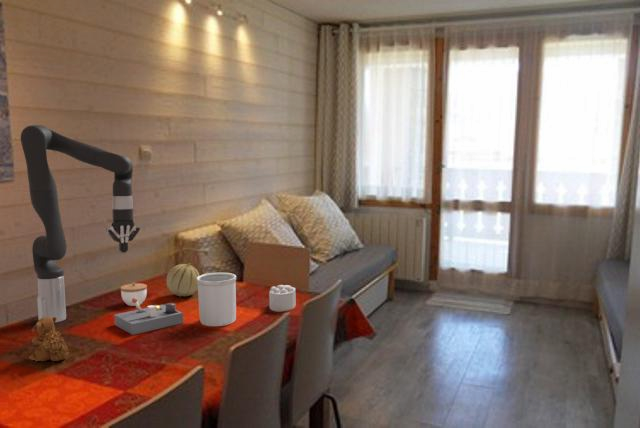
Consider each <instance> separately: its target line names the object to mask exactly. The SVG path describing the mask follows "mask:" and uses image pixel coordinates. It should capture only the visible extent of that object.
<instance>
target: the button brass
mask: <svg viewBox="0 0 640 428" xmlns="http://www.w3.org/2000/svg"><path fill="white" fill-rule="evenodd" d="M159 305H160V304H153V306H155V307H156V311H157V310H160V306H159Z"/></svg>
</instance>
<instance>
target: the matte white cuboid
mask: <svg viewBox="0 0 640 428" xmlns="http://www.w3.org/2000/svg"><path fill="white" fill-rule="evenodd" d="M153 305H154V304H153ZM153 305H147V307H146V308H147V315H148V316H150V317H154V316H156V307H155V306H153Z"/></svg>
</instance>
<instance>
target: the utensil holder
mask: <svg viewBox="0 0 640 428" xmlns="http://www.w3.org/2000/svg"><path fill="white" fill-rule="evenodd" d="M236 281H237V275H236V274H234V273H231V272H208V273H203V274H201V275H200V274H199V276H198V277H197V283H198V289H197V295H198V296H197V297H198V298H197V299H198V310H199V311H198V312H199V321H200V324H201V325H202V326H203V325H204V326H206V327H222V326H228V325H230V324H233V323H235V322H236V319H237V299H236V298H237V295H236V294H237V293H236V292H237V291H236V289H237V285H236Z"/></svg>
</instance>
